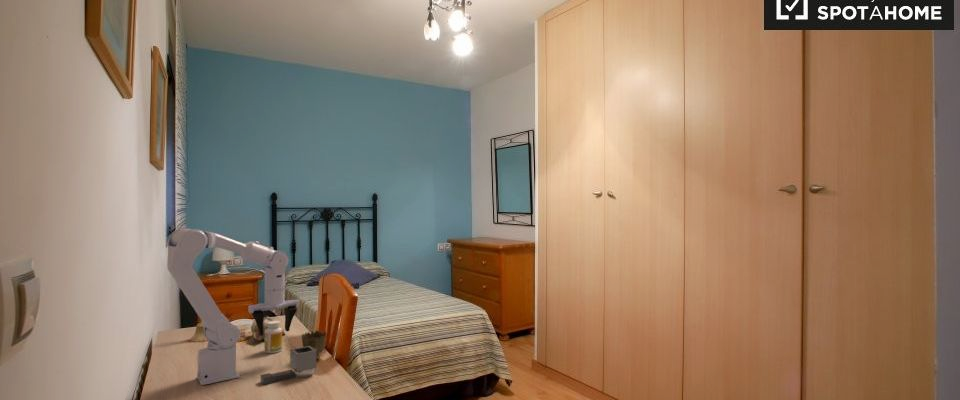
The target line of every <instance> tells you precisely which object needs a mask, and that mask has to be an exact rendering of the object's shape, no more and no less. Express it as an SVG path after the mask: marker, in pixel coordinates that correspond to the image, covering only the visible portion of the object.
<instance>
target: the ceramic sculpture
mask: <svg viewBox="0 0 960 400" xmlns="http://www.w3.org/2000/svg"><path fill="white" fill-rule="evenodd" d="M270 321H274V320H273V319H271V318H270V316H268V315H264V320H263V335H262V336H260V335H259V330H258V326H257V323H256V321H255V320H253V322H252V324H251V326H250V330H251V333H252V334H251V335H252V338H253V341H255V342H261V341H262V340H263V341H265V330H266V329H267V328H268V327H267V322H270ZM284 330H285V329H283V328H282V337H284V336H286V333H285V331H284Z"/></svg>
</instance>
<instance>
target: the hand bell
mask: <svg viewBox="0 0 960 400" xmlns="http://www.w3.org/2000/svg"><path fill="white" fill-rule="evenodd" d="M201 322H202V320H201V319H200V322H199V323H197V324H196V328H195V332H194V334H193V336H191V337H190V339H189V340H190V342H193V343H194V342H195V343H204V342H208V341H209V340H207V339H206V338H205V336H204V328H203V326H202V324H201Z"/></svg>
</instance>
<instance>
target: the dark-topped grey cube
mask: <svg viewBox="0 0 960 400" xmlns="http://www.w3.org/2000/svg"><path fill="white" fill-rule="evenodd" d="M289 352H290V353H289V355H290V361H289V363H290V364H289V367H290V368H291V370H292V369H294V370H295V371H296V372H299V371H304V370H308V369H313V368H314V369H317V360H316V350H315V349H314V348H312V347H311V346H306V347H303V346H302V347H297V348H292V349H290V350H289Z"/></svg>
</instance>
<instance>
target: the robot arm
mask: <svg viewBox="0 0 960 400" xmlns="http://www.w3.org/2000/svg"><path fill="white" fill-rule="evenodd" d="M166 245H167V261H166V264H167V265H166V266H167V267H166V268H167V270H168V272H169V273H170V275H171V276H172V278H173V279H174V282H176V284H177V286H178V287H179V289H180V290H181V291H182V292H183V294H184V297H186V299H187V301H188V302H189V304H190V305H191V307H192V308H193V310H194V311H195V313H196V314H197V316H198V317H199V320H200V323H201V324H202V326H203V328H204V336H205V338H206V339H207V340H209V341H207V342H208V343H207V345H206V347H204V348H201V349H198V352H197V372H196V373H197V380H198V381H199V383H200V385H201V386H205V385H209V384H214V383H219V382H222V381H228V380H233V379H238V378H240V376H241V375H240V374H239V372H238V371H237V342H238V341H239V340H240V337H241V330H240V329H239V327H238V326H237V325H235V324H233V323H231V321H230V320H229V319H228V318H227V317H226V315H224V314H223V312H221V310H220V308H219V307H218V305H217V304H216V302H215V300H214V299H213V298H212V296H211V294H210V293H209V291H208V290H207V288H206V286H205V285H204V284H203V282H202V280H201V278H200V276H199V275H198V274H197V272H196V271H195V269H194V267H193V266H194V263H195V261H196V259H197V257H198V256H199V255H200V254H201V253H202V252H203V251H204V250H205V249H212V248H214V247H215V248H219V249H222V250H226V251H228V252H232V253H236V254H238V255H240V258H241V260H243V261H246V262H250V263H252V264H257V265H259V266H262V267H264V302H261V303H257V304H250V305H248V310H247V312H248V313H249V314H251V315H252V316H253V319H254V321H256V323H257V326H258V330H259V335H260V336H262V335H263V320H264V316H265V314H264V311H273V310H279V309H283V310H284V330H285V331H286V332H290V328H291V326H292V325H291V324H292V321H293V318H294V317H295V315H296V313H297V311H298V307H300V300H299V299H287V300H285V295H286V292H285V291H286V288H285V287H286V285H285V284H286V283H285V282H286V280H285V279H286V277H285V276H286V268H287V267H288V264H289V262H290V259H289V258H288V256H287V254H286V252H284V251H281V250H275V249H274V247H273V246H268V247H267V246H265V245H262V244H260V241H256V240H253V241H248V242H245V243H243V242H241V241H237V240H234V239H232V238H229V237H227V236H224V235H221V234H219V233H216V232H212V231H206V230H205V231H204V230H201V229H197V228H192V229H191V228H188V227H187V228H186V227H181V228H177V229H175V230H174V231H173V232H172V233H171V235H170V237H169V239H168V240H167V242H166ZM201 320H202V322H201Z"/></svg>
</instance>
